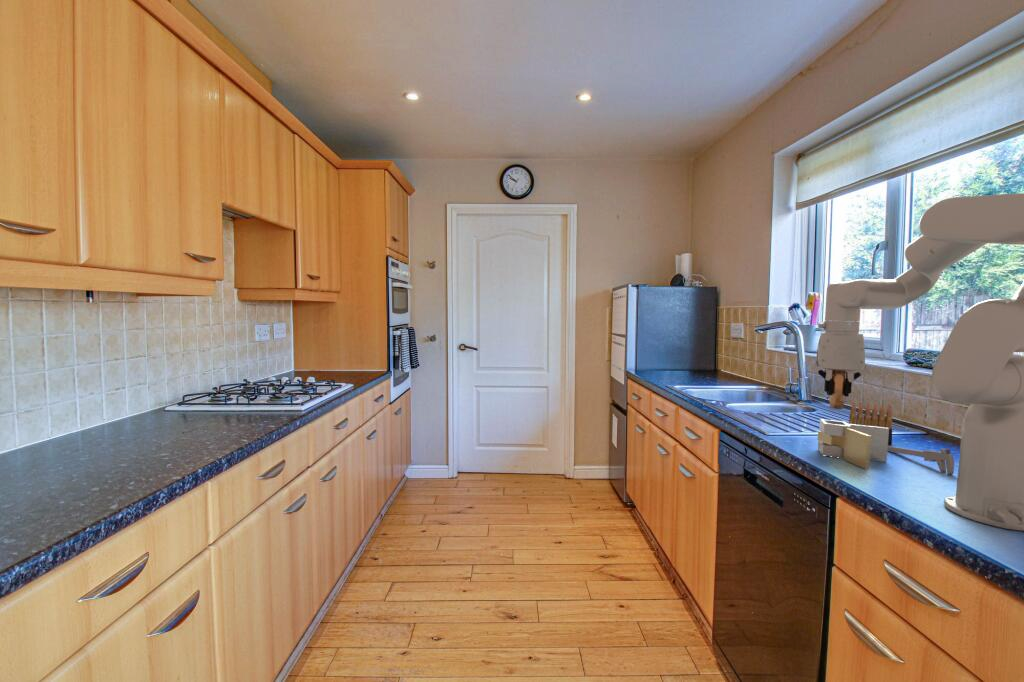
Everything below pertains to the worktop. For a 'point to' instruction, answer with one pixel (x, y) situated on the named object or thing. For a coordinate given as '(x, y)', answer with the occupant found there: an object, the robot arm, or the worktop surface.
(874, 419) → the ammunition clip
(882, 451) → the hinge fixed
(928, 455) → the caliper
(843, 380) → the pin
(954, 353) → the robot arm
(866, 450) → the hinge leaf
